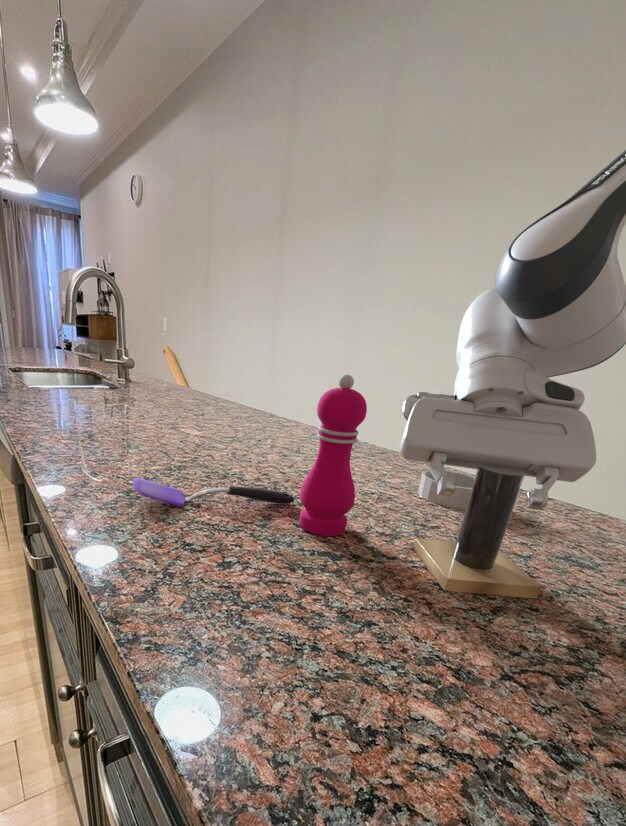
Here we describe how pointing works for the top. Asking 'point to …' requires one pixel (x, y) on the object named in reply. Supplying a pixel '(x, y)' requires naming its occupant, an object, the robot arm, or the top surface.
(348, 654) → the top surface
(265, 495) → the spatula
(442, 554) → the board
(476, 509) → the black canister
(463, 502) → the pan
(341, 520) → the pepper mill
